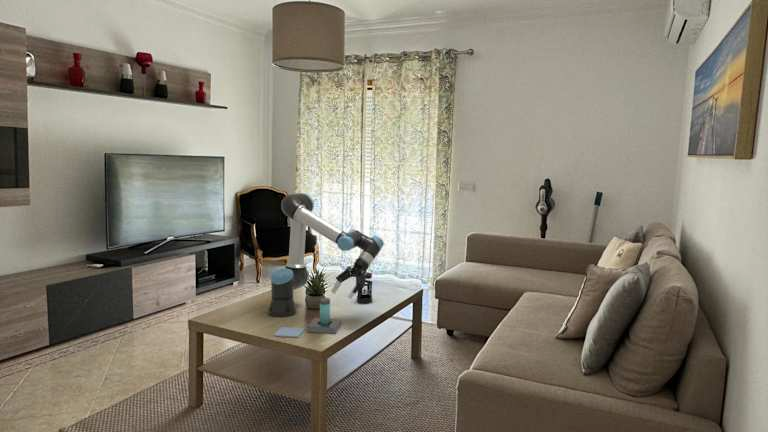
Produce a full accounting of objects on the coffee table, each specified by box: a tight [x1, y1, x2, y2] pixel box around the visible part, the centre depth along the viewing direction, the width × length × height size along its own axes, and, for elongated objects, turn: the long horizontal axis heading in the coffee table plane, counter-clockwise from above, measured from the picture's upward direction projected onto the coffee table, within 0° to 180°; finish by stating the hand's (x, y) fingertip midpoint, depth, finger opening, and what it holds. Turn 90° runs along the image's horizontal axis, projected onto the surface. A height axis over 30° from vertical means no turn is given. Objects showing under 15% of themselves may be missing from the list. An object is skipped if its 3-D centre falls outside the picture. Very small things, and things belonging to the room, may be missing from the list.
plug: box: [319, 297, 331, 325], centre depth 266 cm, size 5×5×15 cm
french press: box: [356, 271, 373, 305], centre depth 314 cm, size 12×9×23 cm
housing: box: [306, 317, 343, 335], centre depth 266 cm, size 14×14×3 cm
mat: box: [273, 326, 306, 339], centre depth 259 cm, size 12×12×1 cm
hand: (340, 294), depth 271 cm, fingers open, 13 cm apart
